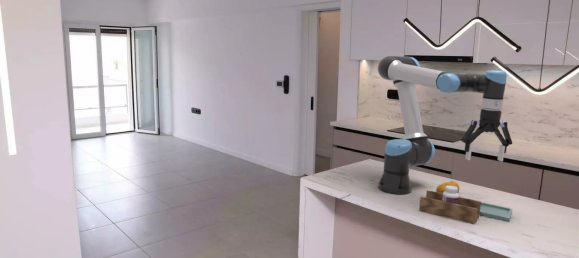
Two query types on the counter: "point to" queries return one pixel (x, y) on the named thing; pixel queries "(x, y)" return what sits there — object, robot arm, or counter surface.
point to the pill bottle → (451, 195)
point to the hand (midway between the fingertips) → (483, 160)
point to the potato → (442, 186)
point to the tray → (495, 211)
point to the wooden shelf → (450, 207)
